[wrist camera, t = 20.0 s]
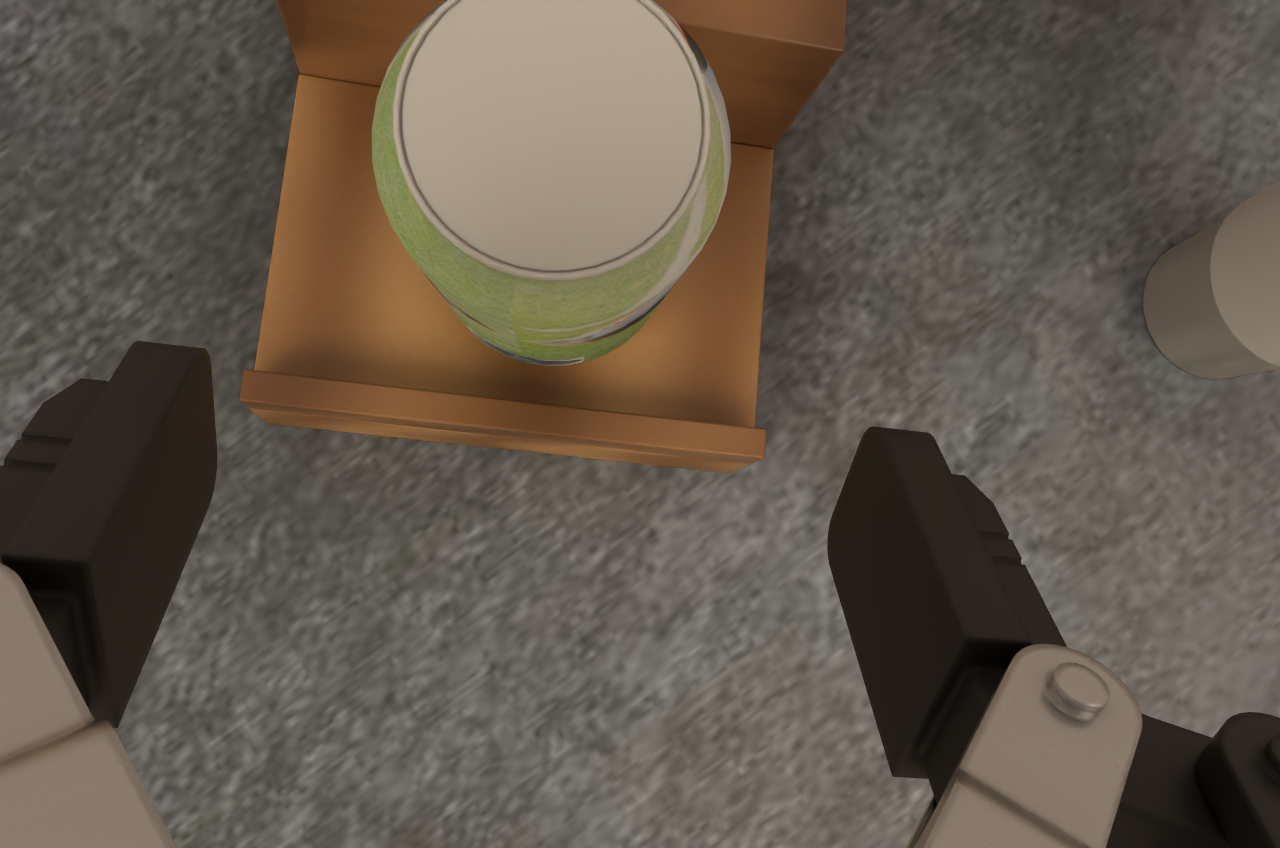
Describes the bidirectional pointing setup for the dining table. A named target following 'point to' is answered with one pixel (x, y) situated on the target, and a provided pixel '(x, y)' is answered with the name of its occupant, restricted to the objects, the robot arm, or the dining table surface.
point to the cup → (1221, 294)
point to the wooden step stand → (433, 334)
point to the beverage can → (551, 166)
